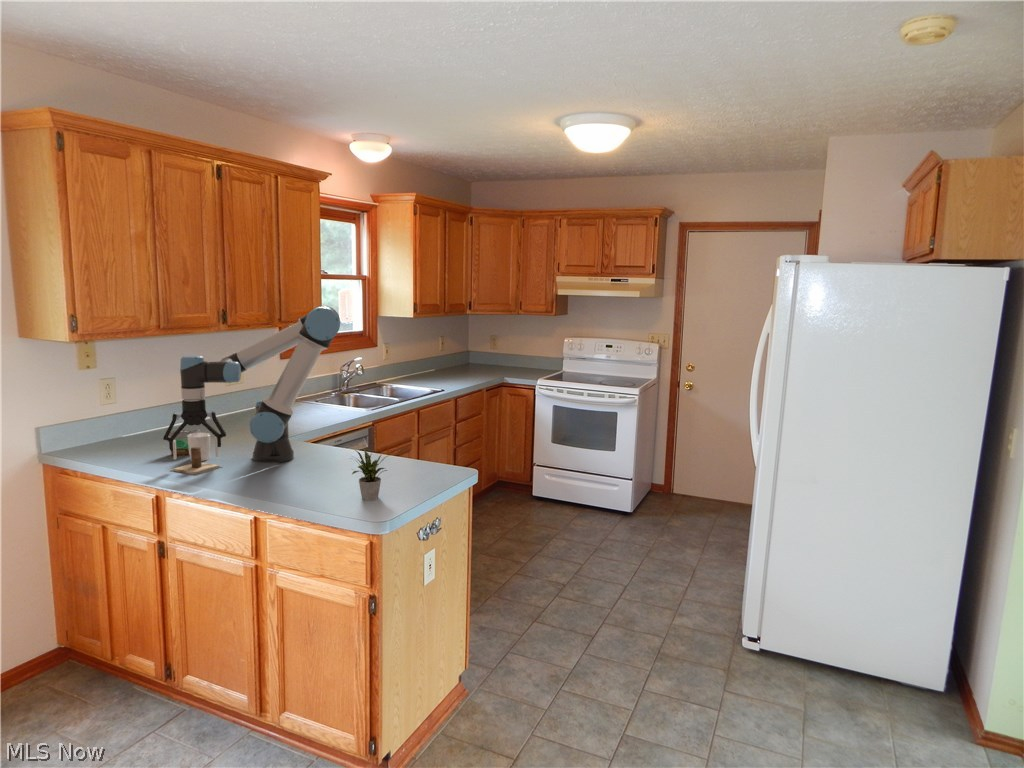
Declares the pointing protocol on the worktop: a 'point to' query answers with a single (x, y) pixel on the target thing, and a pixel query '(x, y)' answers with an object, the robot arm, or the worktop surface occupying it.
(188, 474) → the mat
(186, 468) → the lid
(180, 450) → the food container
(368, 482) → the house plant
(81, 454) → the worktop surface
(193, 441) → the white cup
